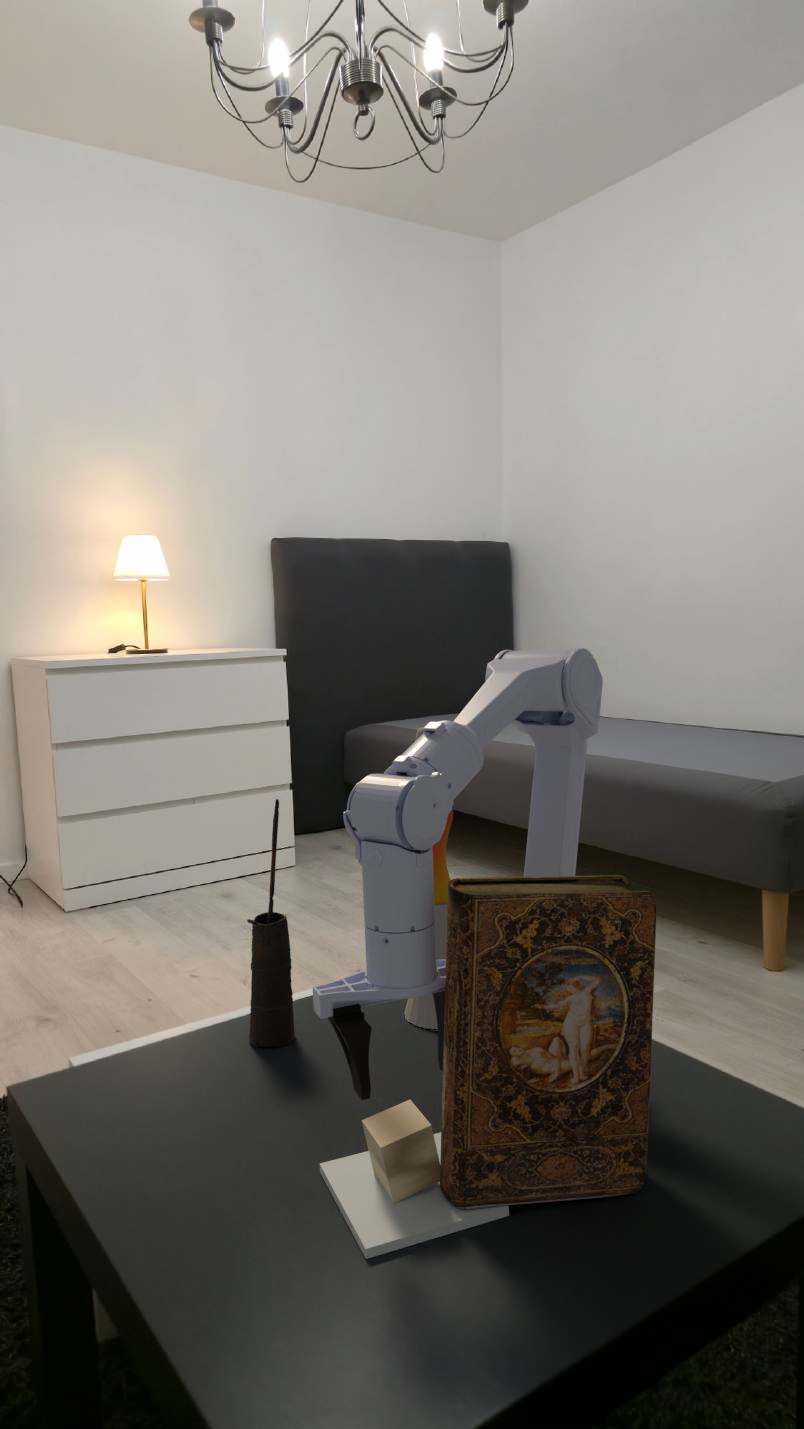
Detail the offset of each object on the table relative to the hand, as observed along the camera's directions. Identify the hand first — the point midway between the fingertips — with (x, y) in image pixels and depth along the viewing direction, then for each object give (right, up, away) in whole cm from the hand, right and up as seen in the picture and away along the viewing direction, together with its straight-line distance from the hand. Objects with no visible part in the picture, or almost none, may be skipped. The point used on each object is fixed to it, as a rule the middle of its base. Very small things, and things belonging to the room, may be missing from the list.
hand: (406, 1083), depth 74 cm
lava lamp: (+4, -6, +35) cm, 36 cm away
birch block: (0, -8, +1) cm, 8 cm away
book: (+11, -9, +1) cm, 14 cm away
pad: (0, -9, +1) cm, 9 cm away
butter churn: (-16, -8, +30) cm, 34 cm away
